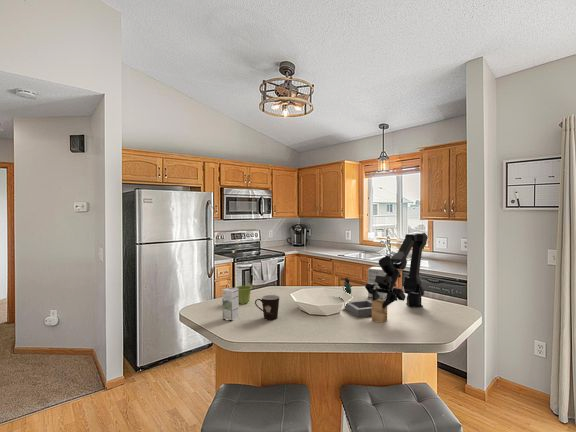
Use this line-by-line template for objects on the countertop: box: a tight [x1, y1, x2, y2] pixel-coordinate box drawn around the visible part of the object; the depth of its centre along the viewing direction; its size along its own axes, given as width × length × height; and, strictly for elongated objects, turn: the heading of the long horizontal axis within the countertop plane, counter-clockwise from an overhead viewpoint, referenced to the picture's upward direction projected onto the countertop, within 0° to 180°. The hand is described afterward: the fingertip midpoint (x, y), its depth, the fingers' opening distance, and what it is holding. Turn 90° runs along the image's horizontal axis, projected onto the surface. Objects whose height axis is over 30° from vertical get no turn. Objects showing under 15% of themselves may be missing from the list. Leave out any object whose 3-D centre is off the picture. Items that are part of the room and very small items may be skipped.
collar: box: [344, 299, 372, 318], centre depth 164 cm, size 14×14×4 cm
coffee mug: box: [254, 294, 280, 321], centre depth 156 cm, size 12×9×10 cm
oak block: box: [371, 298, 388, 324], centre depth 150 cm, size 5×5×9 cm
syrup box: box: [221, 287, 240, 321], centre depth 154 cm, size 6×6×14 cm
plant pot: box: [234, 285, 253, 304], centre depth 182 cm, size 9×9×9 cm
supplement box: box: [367, 266, 387, 300], centre depth 192 cm, size 10×9×17 cm
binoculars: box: [343, 277, 353, 295], centre depth 193 cm, size 9×11×10 cm
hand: (377, 306), depth 149 cm, fingers closed on oak block, 5 cm apart
